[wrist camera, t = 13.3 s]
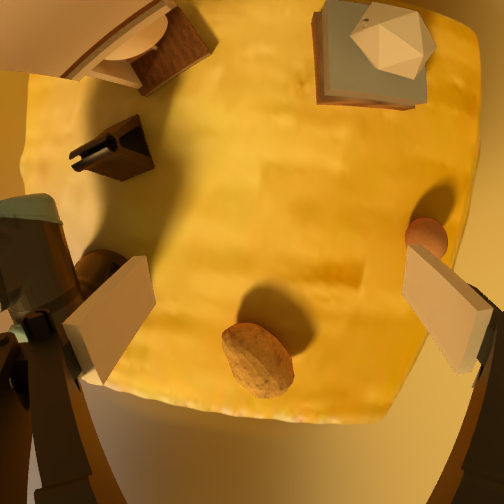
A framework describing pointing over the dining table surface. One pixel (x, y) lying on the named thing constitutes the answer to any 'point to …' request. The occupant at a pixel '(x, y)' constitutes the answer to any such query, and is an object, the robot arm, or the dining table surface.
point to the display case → (99, 40)
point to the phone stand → (116, 151)
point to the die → (394, 39)
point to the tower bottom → (319, 76)
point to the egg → (428, 236)
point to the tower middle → (360, 62)
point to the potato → (258, 360)
